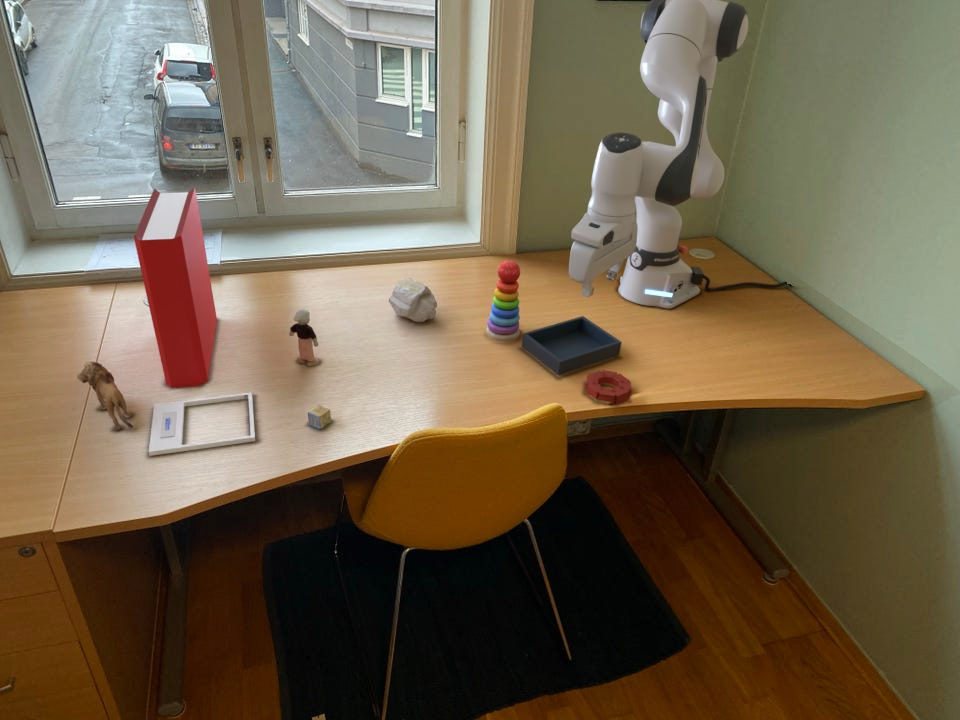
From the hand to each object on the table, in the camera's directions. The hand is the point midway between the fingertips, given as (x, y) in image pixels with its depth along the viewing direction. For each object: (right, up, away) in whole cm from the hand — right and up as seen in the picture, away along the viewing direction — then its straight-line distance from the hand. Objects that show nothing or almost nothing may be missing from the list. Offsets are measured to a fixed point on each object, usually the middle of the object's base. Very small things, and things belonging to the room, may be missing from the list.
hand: (599, 287), depth 146 cm
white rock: (-40, -4, +31) cm, 51 cm away
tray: (-4, -13, +20) cm, 24 cm away
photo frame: (-76, -27, -9) cm, 81 cm away
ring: (+3, -21, +7) cm, 23 cm away
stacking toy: (-19, -9, +25) cm, 33 cm away
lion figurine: (-94, -25, -7) cm, 98 cm away
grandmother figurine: (-62, -15, +12) cm, 64 cm away
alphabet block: (-55, -27, -7) cm, 61 cm away
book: (-86, -13, +12) cm, 88 cm away
